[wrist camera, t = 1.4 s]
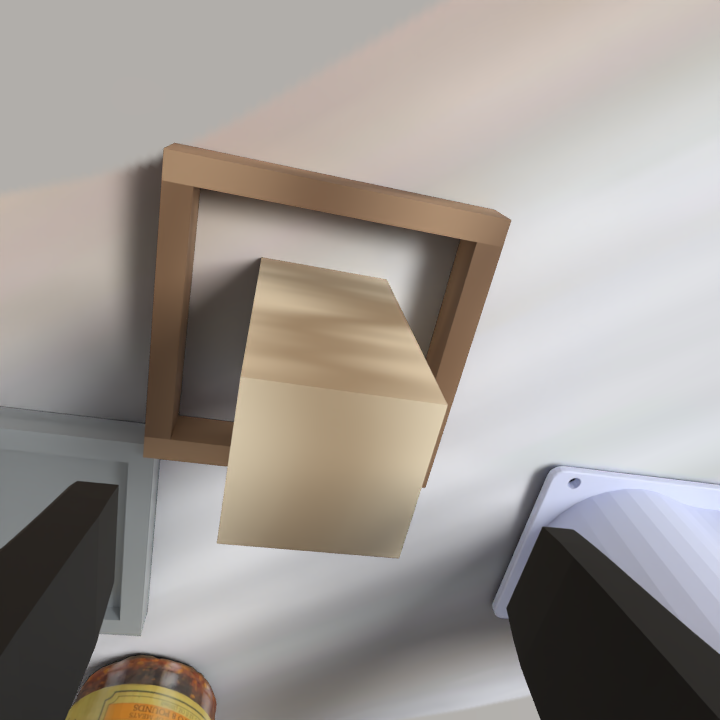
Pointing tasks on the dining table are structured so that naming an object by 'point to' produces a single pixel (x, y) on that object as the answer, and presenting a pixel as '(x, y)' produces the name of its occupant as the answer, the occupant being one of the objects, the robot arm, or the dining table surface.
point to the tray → (90, 464)
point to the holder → (316, 192)
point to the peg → (328, 417)
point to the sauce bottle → (145, 692)
